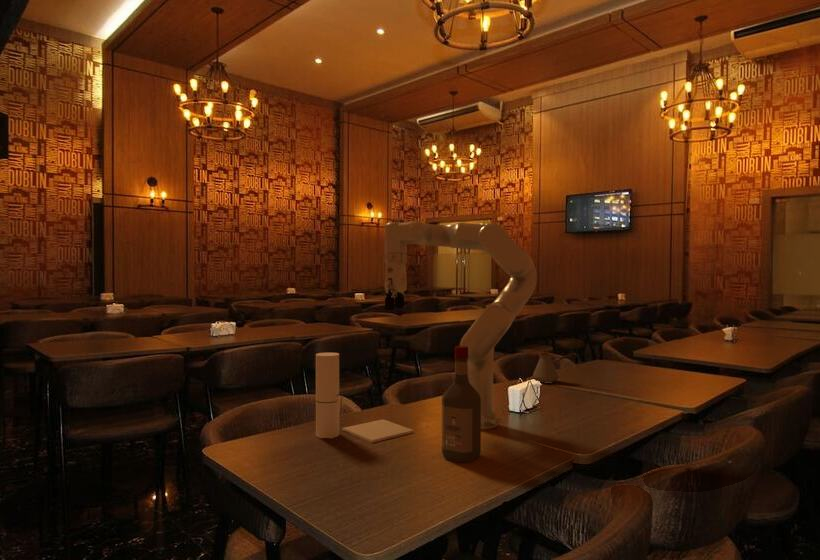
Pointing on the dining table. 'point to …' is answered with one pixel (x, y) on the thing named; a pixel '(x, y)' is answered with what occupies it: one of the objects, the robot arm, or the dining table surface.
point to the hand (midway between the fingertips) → (394, 308)
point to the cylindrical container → (327, 395)
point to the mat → (377, 430)
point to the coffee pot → (547, 368)
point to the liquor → (461, 414)
